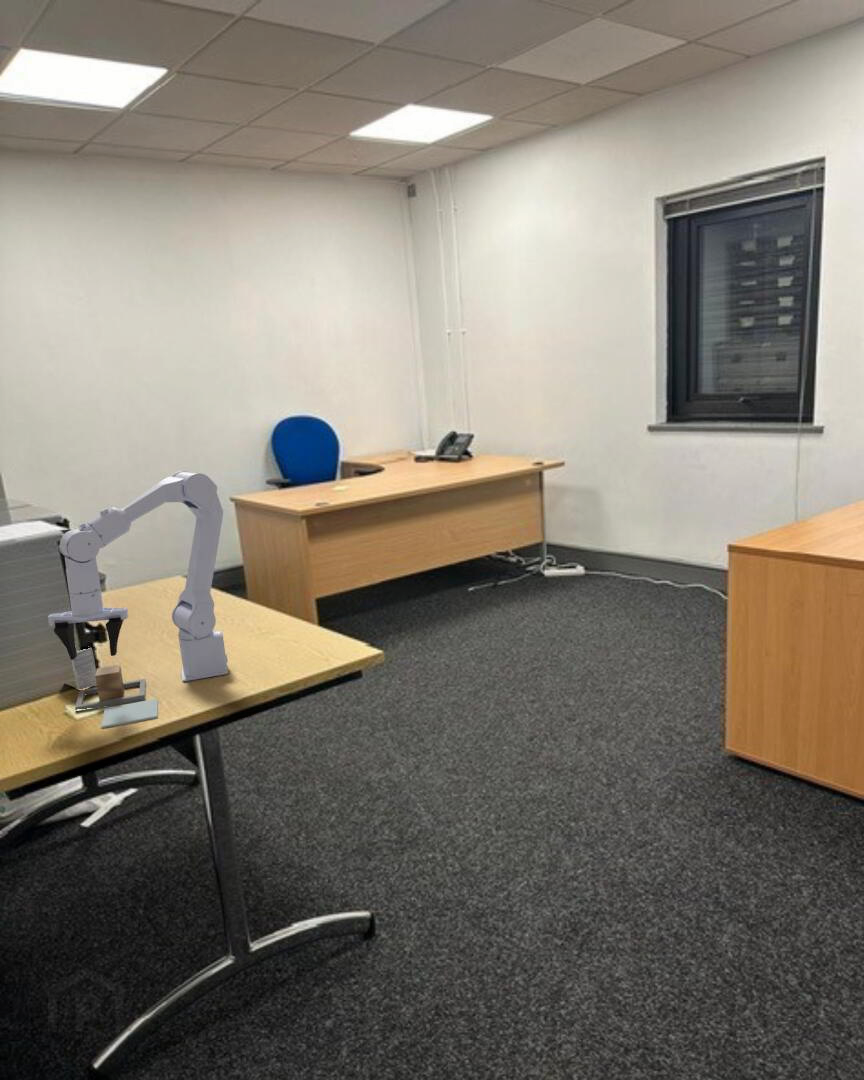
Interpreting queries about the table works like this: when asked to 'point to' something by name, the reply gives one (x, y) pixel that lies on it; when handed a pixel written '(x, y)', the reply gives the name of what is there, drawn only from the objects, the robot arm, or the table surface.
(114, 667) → the walnut block
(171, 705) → the table surface
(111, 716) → the mat
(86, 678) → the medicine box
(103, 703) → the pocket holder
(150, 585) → the table surface
